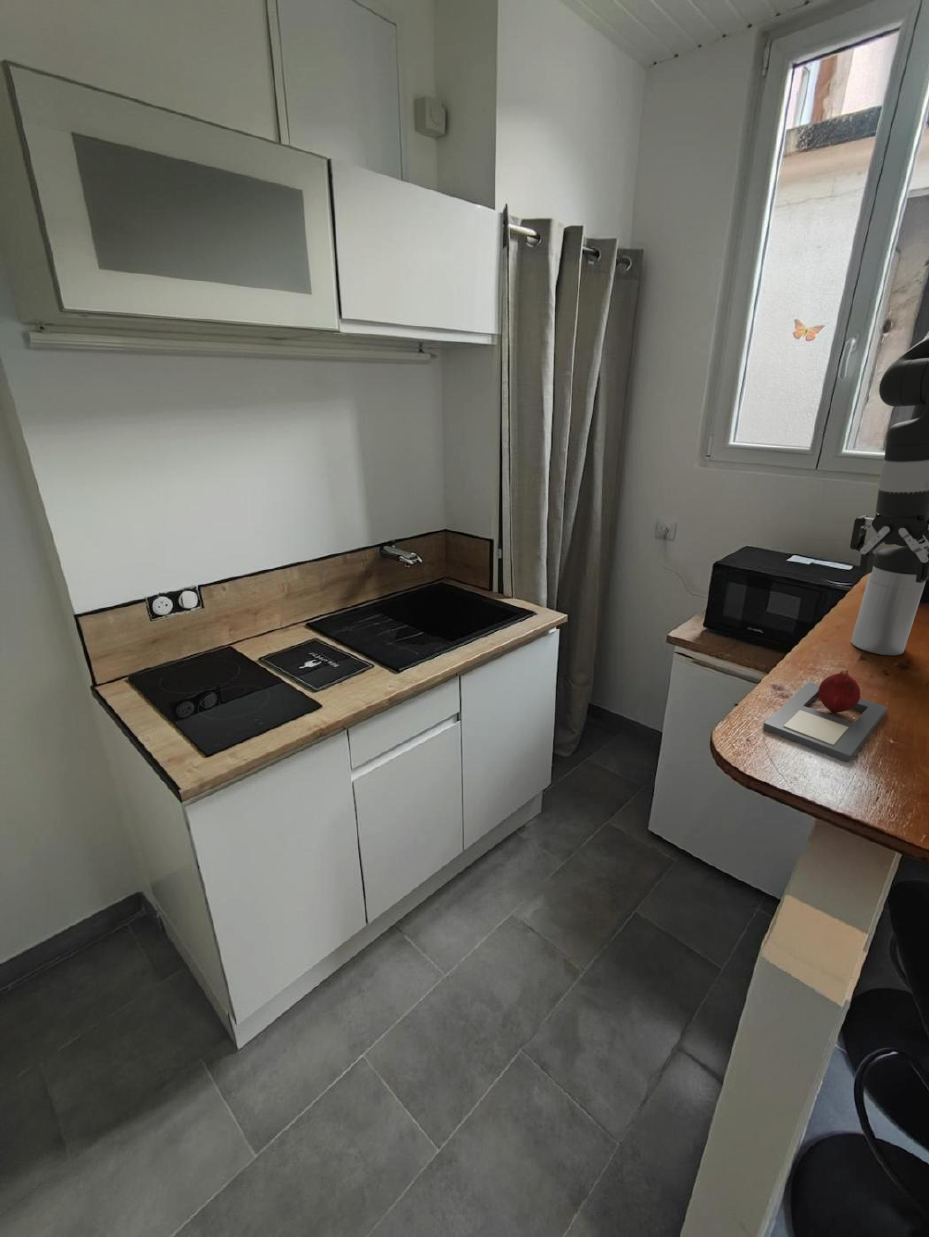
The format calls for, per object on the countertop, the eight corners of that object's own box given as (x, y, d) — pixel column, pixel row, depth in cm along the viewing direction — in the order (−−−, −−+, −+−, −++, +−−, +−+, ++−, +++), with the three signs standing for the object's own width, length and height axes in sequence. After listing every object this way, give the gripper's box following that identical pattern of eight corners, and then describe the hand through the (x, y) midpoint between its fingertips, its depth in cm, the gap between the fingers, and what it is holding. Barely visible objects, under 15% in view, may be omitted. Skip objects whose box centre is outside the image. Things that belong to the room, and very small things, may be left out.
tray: (807, 687, 103) (809, 681, 103) (885, 713, 95) (888, 706, 94) (762, 729, 91) (764, 721, 90) (848, 762, 82) (850, 754, 82)
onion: (860, 723, 92) (873, 679, 89) (821, 719, 93) (832, 676, 90) (845, 705, 97) (857, 663, 94) (808, 702, 98) (819, 660, 95)
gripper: (968, 484, 92) (951, 579, 98) (871, 480, 104) (861, 565, 109) (945, 492, 89) (929, 590, 94) (848, 487, 100) (839, 575, 106)
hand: (892, 577), depth 102 cm, fingers open, 8 cm apart
